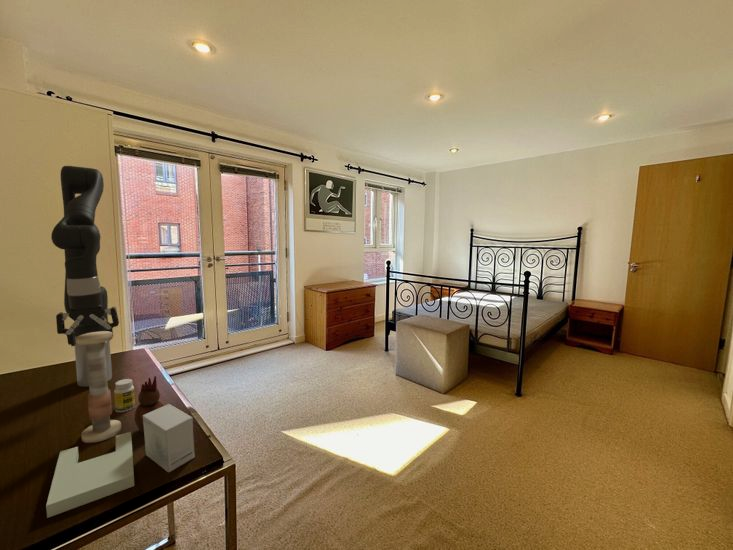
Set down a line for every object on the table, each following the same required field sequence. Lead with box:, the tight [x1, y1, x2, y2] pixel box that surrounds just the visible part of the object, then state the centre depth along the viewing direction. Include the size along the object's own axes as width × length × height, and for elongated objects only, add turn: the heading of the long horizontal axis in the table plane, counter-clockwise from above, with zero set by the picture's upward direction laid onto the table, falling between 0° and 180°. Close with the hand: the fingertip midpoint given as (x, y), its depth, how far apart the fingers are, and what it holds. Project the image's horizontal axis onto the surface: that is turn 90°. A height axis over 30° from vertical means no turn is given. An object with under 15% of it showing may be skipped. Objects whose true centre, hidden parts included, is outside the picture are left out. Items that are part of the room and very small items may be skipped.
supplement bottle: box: [113, 378, 136, 413], centre depth 94 cm, size 5×5×8 cm
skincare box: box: [143, 403, 196, 473], centre depth 75 cm, size 10×6×10 cm, turn 58°
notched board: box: [45, 431, 135, 519], centre depth 69 cm, size 18×13×2 cm
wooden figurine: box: [134, 375, 165, 433], centre depth 85 cm, size 7×6×15 cm
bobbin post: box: [76, 331, 122, 444], centre depth 82 cm, size 8×8×26 cm
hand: (91, 342), depth 99 cm, fingers open, 8 cm apart
